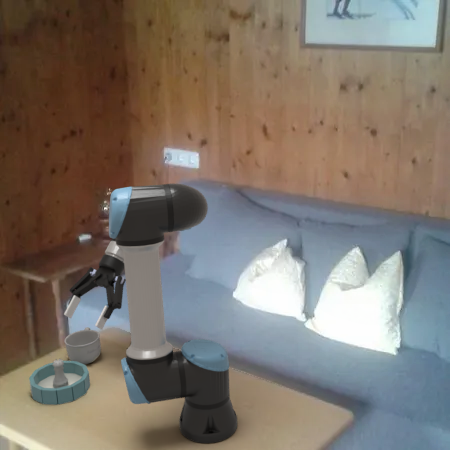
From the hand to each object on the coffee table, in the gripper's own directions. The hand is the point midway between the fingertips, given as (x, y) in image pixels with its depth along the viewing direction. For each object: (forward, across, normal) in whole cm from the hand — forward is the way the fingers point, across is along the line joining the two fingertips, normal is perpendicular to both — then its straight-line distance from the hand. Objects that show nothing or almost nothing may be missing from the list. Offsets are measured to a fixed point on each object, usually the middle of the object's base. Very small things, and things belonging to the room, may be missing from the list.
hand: (82, 322), depth 196 cm
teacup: (+8, +8, -17) cm, 20 cm away
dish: (+20, 0, -5) cm, 20 cm away
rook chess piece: (+19, 0, -4) cm, 19 cm away
